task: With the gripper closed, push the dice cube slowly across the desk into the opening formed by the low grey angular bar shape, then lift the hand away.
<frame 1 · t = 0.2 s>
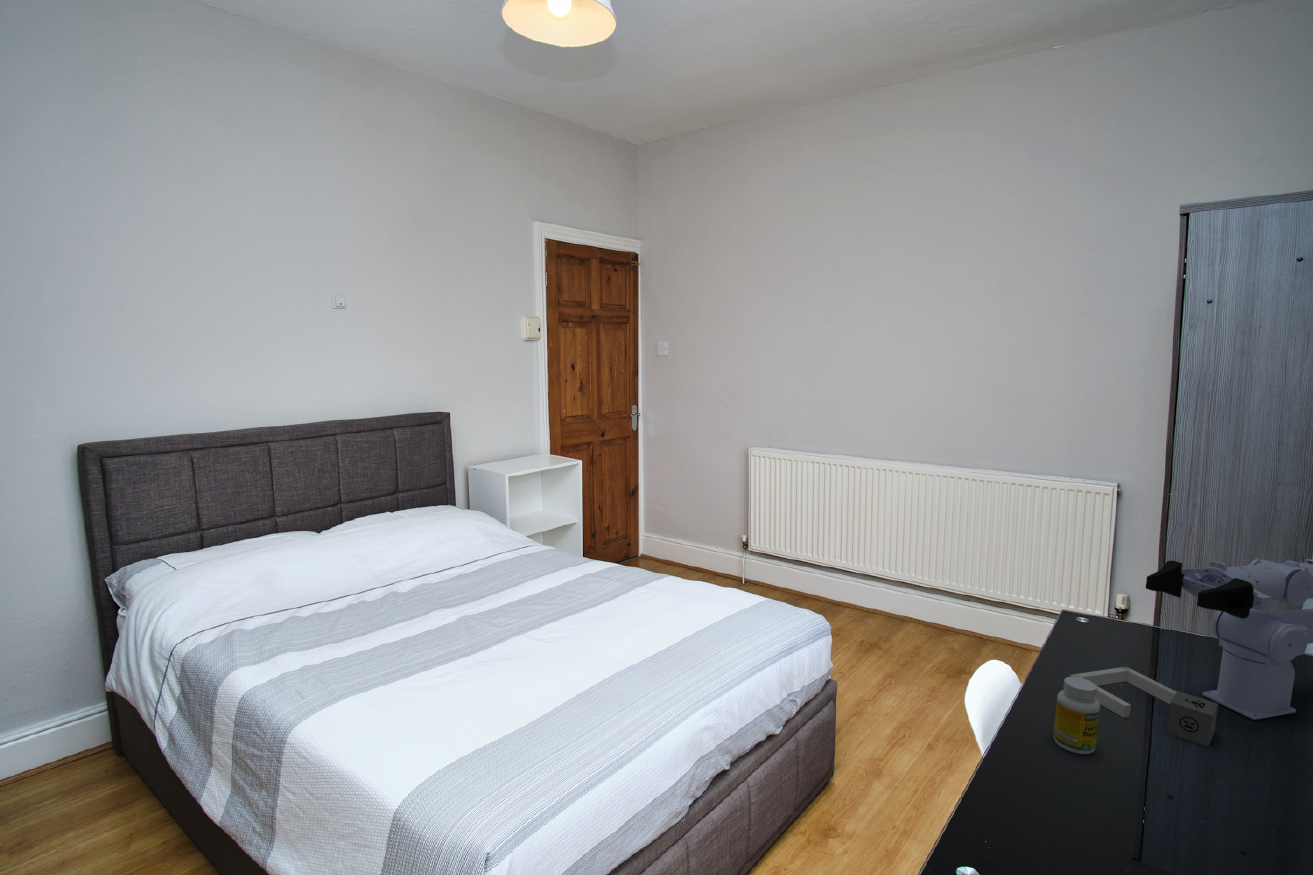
hand: (1173, 591, 102), 21 cm above the table, tool horizontal, fingers open, 7 cm apart
dice cube: (1189, 734, 102), on the table
grey angular bar shape: (1127, 698, 112), on the table
supplement bottle: (1073, 745, 99), on the table
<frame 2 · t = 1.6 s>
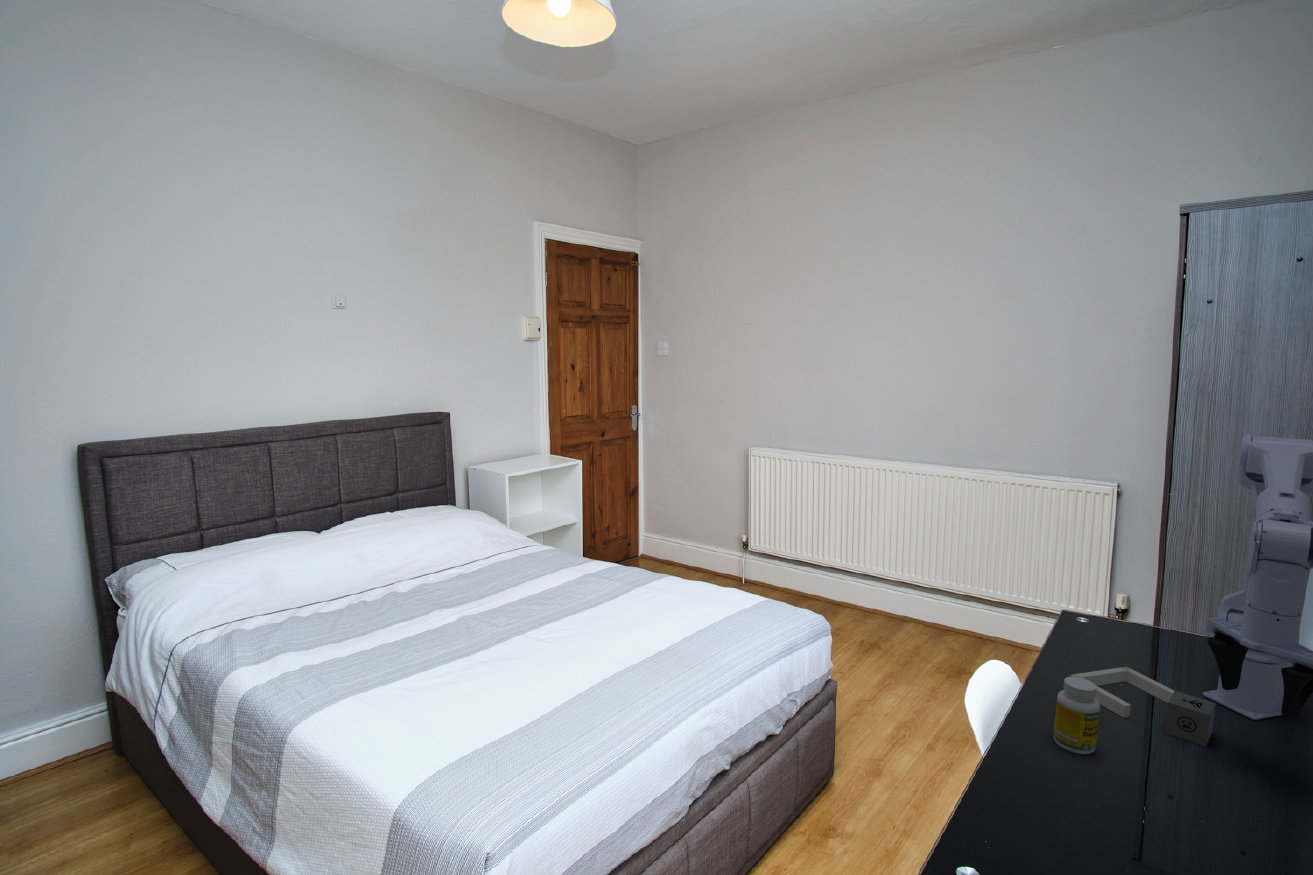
hand: (1258, 702, 93), 9 cm above the table, tool pointing down, fingers open, 7 cm apart
nothing on the table moved.
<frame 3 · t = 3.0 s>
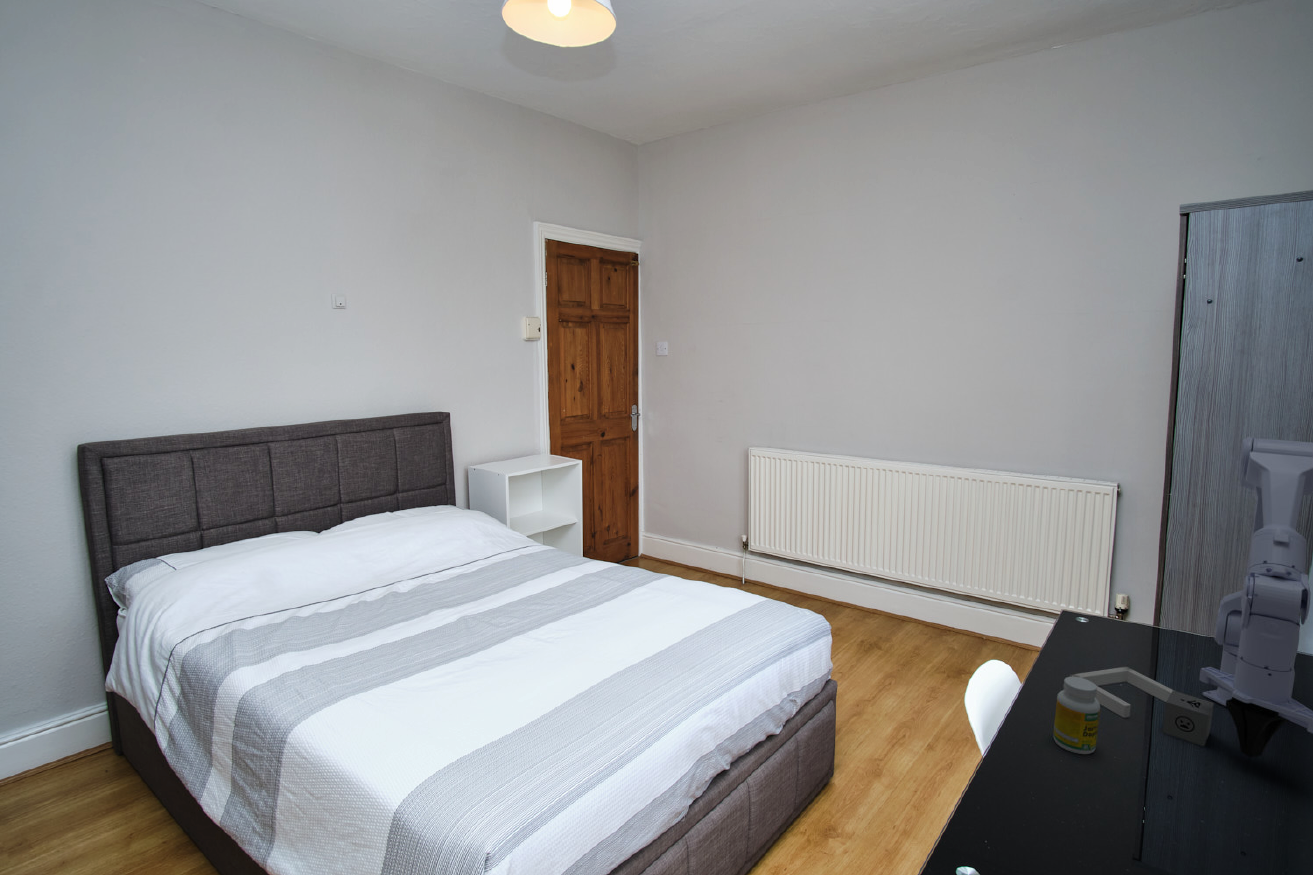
hand: (1250, 753, 94), 2 cm above the table, tool pointing down, fingers closed
nothing on the table moved.
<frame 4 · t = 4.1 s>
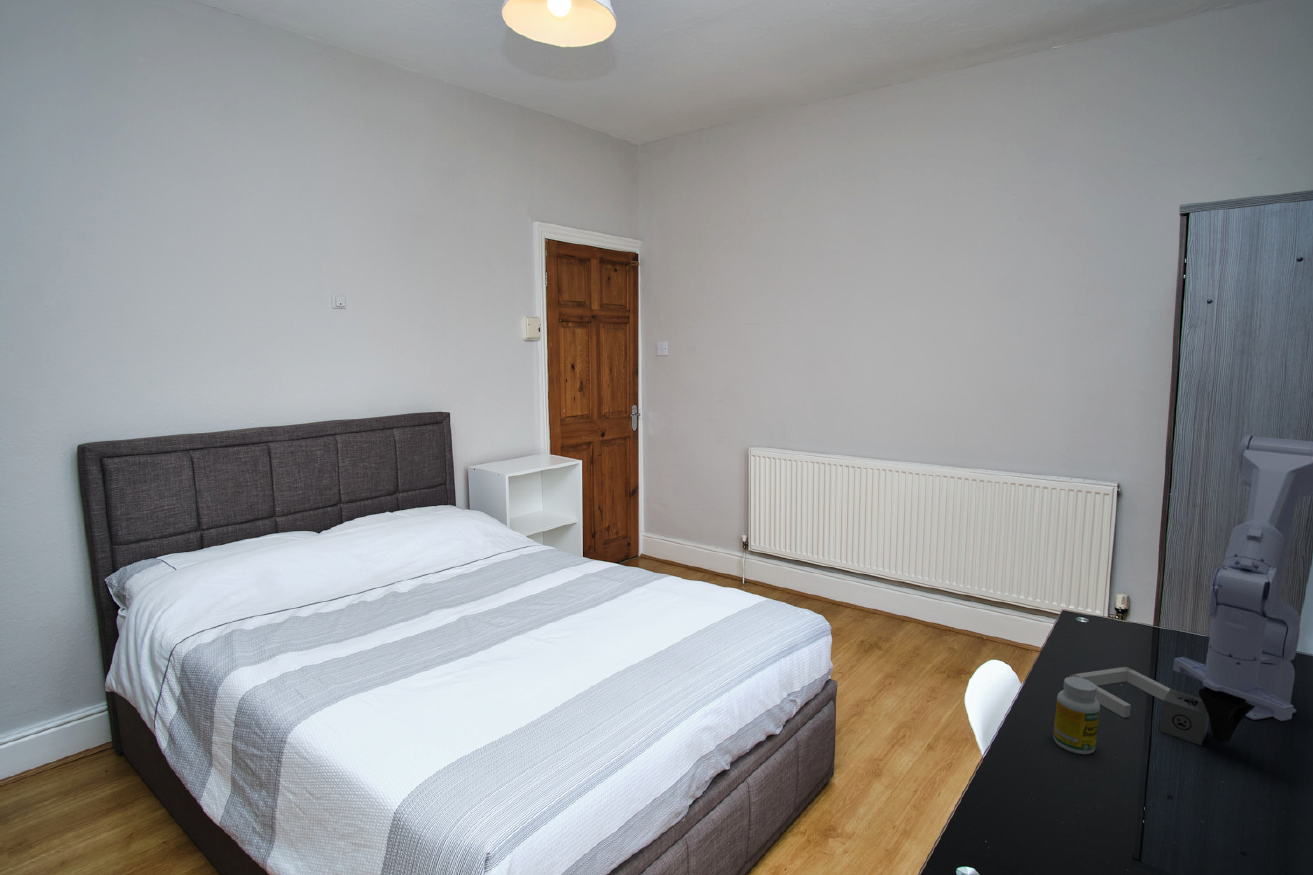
hand: (1221, 739, 98), 1 cm above the table, tool pointing down, fingers closed
dice cube: (1182, 732, 103), on the table, touching gripper
everything else where it was.
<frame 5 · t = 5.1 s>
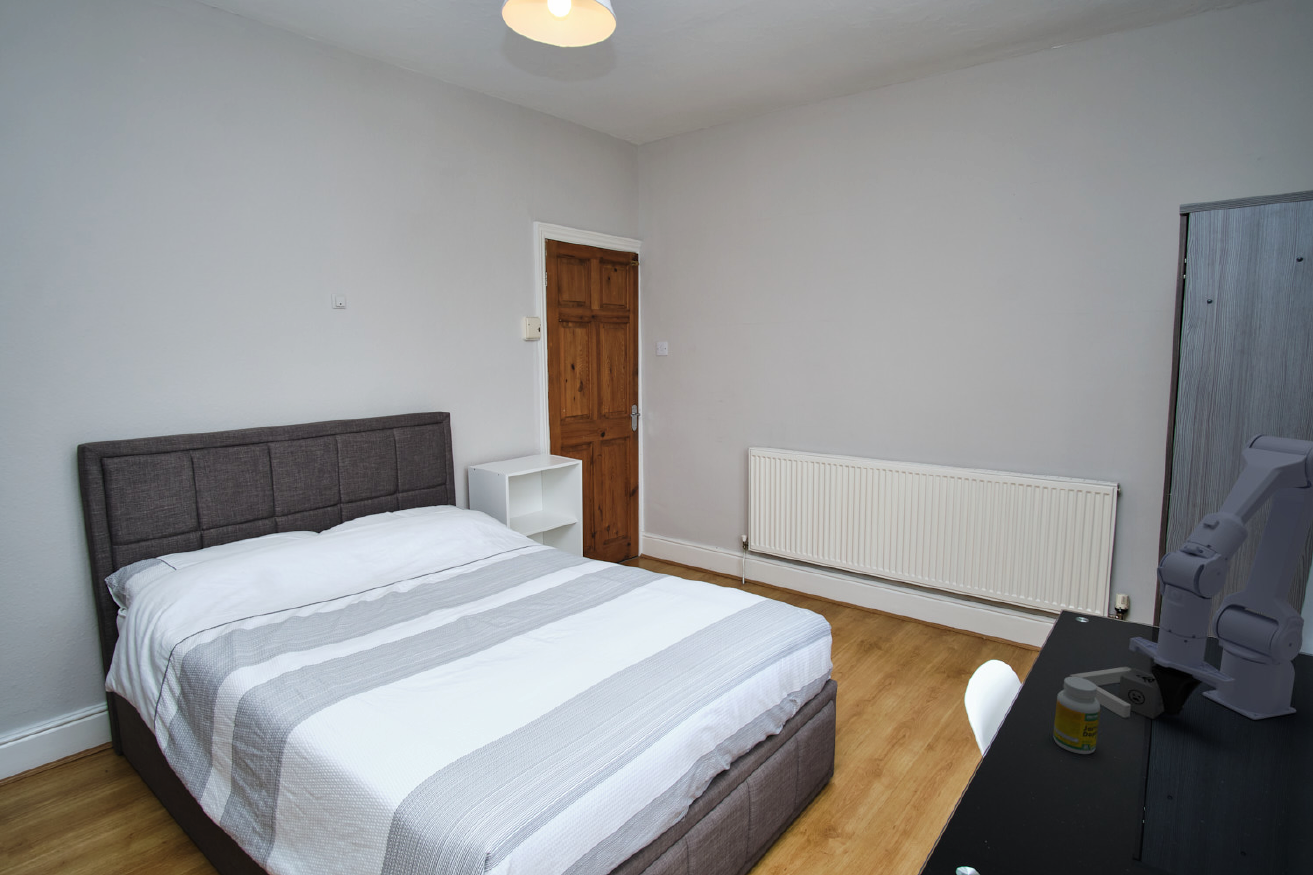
hand: (1171, 713, 105), 1 cm above the table, tool pointing down, fingers closed
dice cube: (1141, 708, 109), on the table, touching gripper
everything else where it was.
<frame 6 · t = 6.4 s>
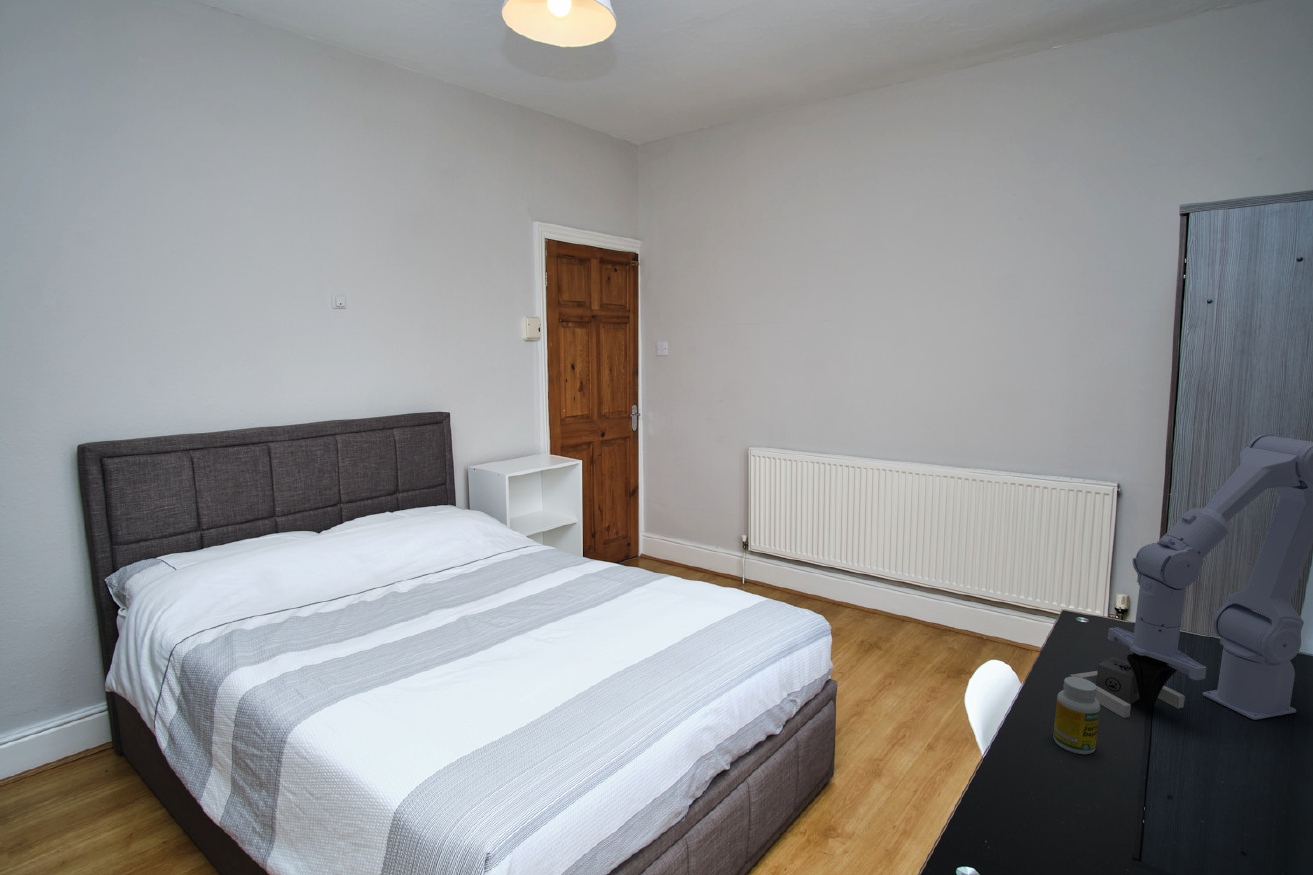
hand: (1147, 700, 109), 1 cm above the table, tool pointing down, fingers closed
dice cube: (1118, 695, 113), on the table, touching gripper
everything else where it was.
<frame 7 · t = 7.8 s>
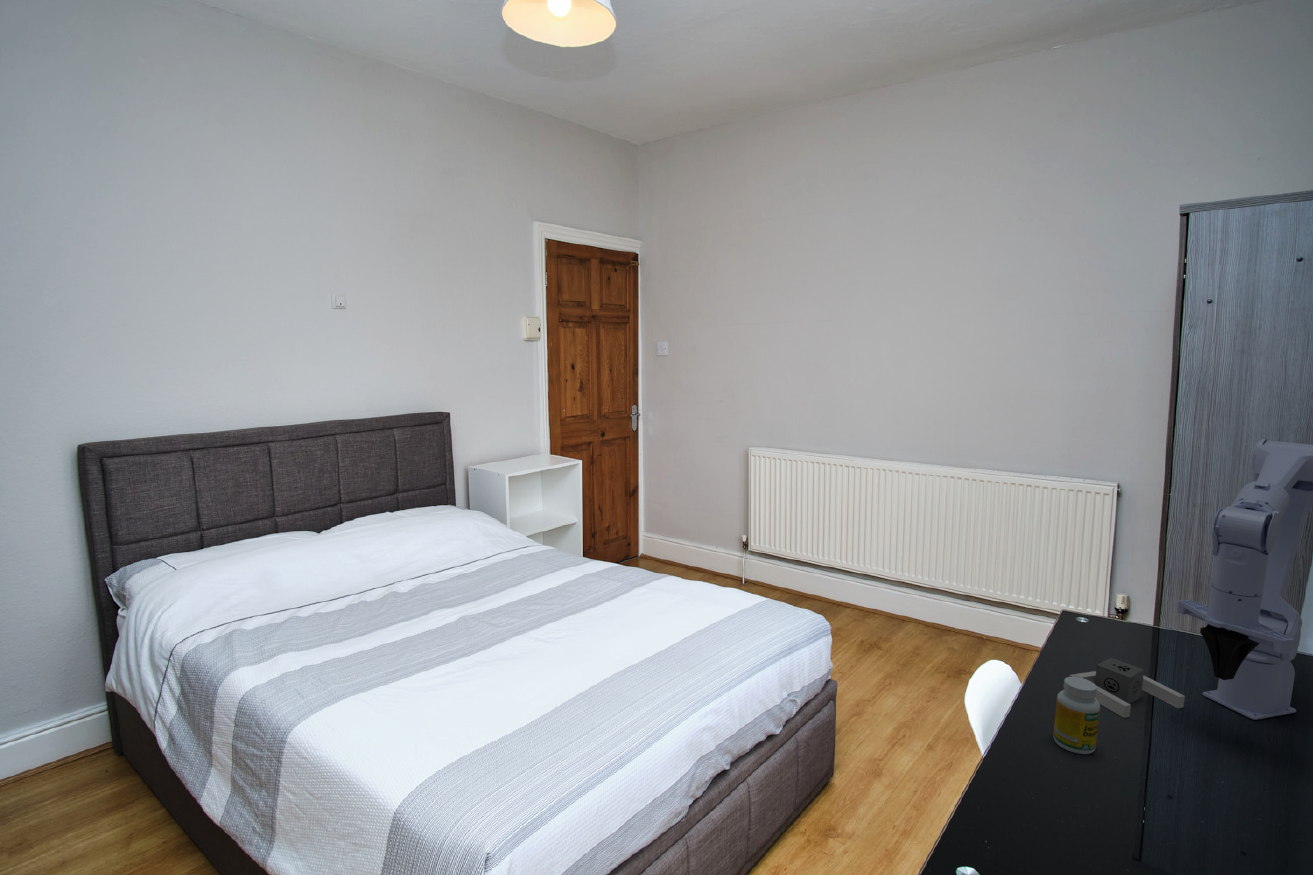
hand: (1223, 677, 100), 9 cm above the table, tool pointing down, fingers closed
dice cube: (1116, 696, 113), on the table
everything else where it was.
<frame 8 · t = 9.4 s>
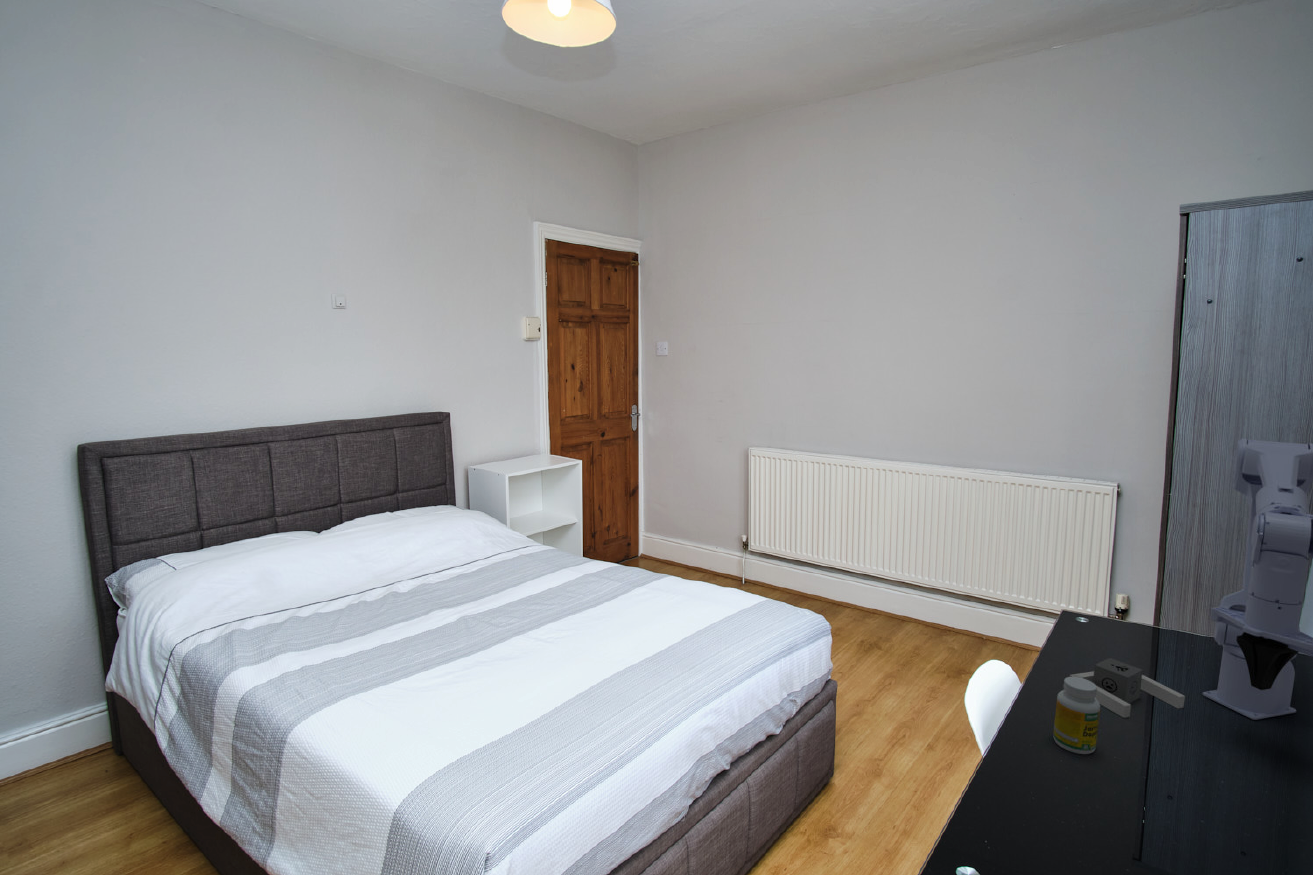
hand: (1260, 687, 98), 9 cm above the table, tool pointing down, fingers closed
nothing on the table moved.
at the end: dice cube inside the target area on the grey angular bar shape (1.2 cm from its centre), point 0.0 cm above the grey angular bar shape's base; dice cube moved 11.7 cm from its start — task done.
